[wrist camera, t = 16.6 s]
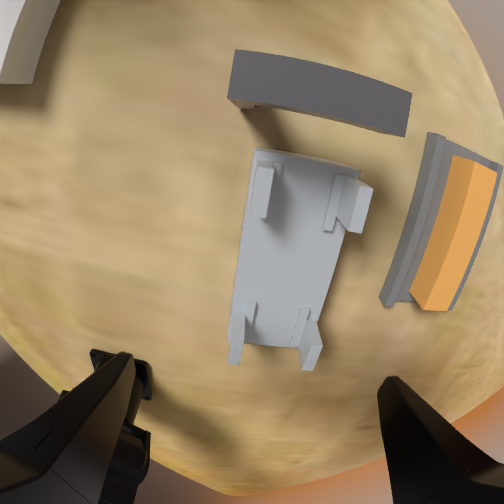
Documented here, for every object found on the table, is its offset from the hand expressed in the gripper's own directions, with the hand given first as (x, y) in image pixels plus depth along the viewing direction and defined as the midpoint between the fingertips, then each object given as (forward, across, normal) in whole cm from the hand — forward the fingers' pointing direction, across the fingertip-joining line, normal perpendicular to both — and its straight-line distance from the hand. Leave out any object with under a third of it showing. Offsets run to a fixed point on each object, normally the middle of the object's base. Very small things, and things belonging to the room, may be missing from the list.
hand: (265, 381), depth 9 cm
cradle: (+13, -2, +1) cm, 13 cm away
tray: (+13, -15, -3) cm, 20 cm away
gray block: (+13, -1, -9) cm, 16 cm away
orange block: (+13, -15, -3) cm, 20 cm away
